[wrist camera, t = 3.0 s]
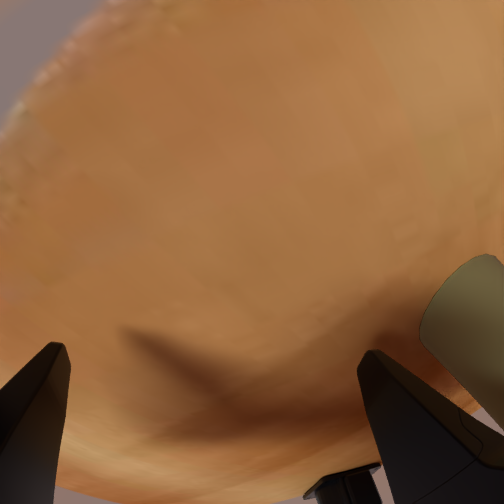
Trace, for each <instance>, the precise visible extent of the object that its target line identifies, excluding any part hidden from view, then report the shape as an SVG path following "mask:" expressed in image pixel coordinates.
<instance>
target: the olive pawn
mask: <svg viewBox="0 0 504 504" xmlns="http://www.w3.org/2000/svg"><path fill="white" fill-rule="evenodd" d="M420 341H421V342H422V344H423V345H424V347H425V348H426V349H427V350H428V351H429V352H430V353H431V354H432V355H433V356H434V357H435V358H436V359H437V360H438V361H439V362H440V363H441V364H442V365H443V366H444V367H445V368H446V369H447V370H448V371H449V372H450V373H451V374H452V375H453V376H454V377H455V378H456V379H457V380H458V382H459V383H460V384H461V385H462V386H463V387H464V388H465V389H466V390H467V391H468V392H469V393H470V394H471V395H472V396H473V397H474V399H475V400H476V401H477V402H478V403H479V404H480V405H481V406H482V407H483V408H484V409H485V410H486V412H487V413H488V414H489V415H490V416H491V417H492V418H493V419H494V420H495V422H496V423H497V424H498V425H499V426H500V427H501V428H502V429H503V431H504V266H503V264H502V263H501V262H500V261H499V260H498V259H497V258H496V257H495V256H493V255H489V254H484V255H481V256H478V257H474V258H473V259H471V260H470V261H468V262H467V263H465V264H464V265H462V266H461V267H460V268H458V269H457V270H456V271H455V272H454V273H453V274H452V275H451V276H450V277H449V278H448V279H447V280H446V281H445V283H444V284H443V285H442V287H441V288H440V289H439V290H438V292H437V293H436V294H435V296H434V297H433V299H432V300H431V302H430V304H429V306H428V308H427V309H426V311H425V313H424V316H423V319H422V322H421V325H420Z"/></svg>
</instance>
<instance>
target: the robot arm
mask: <svg viewBox="0 0 504 504" xmlns="http://www.w3.org/2000/svg"><path fill="white" fill-rule="evenodd" d="M70 373H71V363H70V360H69V357H68V354H67V350H66V347H65V345H64V344H63V343H59V342H50V343H48V344H47V345H46V346H45V347H44V348H43V349H42V350H41V351H40V352H39V353H38V354H36V355H35V356H34V357H33V358H32V359H31V360H30V361H29V362H28V363H27V364H26V365H25V366H24V367H23V368H22V369H21V370H20V371H19V372H18V373H17V374H16V375H15V376H14V377H12V378H11V379H10V380H9V381H8V382H7V383H6V384H5V385H4V386H3V387H2V388H1V389H0V504H53V499H54V489H55V480H56V472H57V465H58V458H59V451H60V445H61V439H62V434H63V428H64V423H65V417H66V409H67V398H68V389H69V380H70ZM357 376H358V380H359V384H360V388H361V393H362V397H363V402H364V406H365V410H366V414H367V417H368V420H369V423H370V426H371V429H372V432H373V435H374V438H375V441H376V444H377V447H378V450H379V454H380V457H381V460H382V463H383V466H384V470H385V473H386V476H387V479H388V482H389V486H390V489H391V493H392V496H393V500H394V503H395V504H504V436H503V435H501V434H500V433H498V432H496V431H494V430H493V429H491V428H490V427H488V426H486V425H485V424H483V423H481V422H480V421H478V420H476V419H475V418H474V417H472V416H471V415H469V414H468V413H466V412H465V411H464V410H462V409H461V408H459V407H457V405H455V404H454V403H452V402H451V401H450V400H448V399H447V398H446V397H444V396H443V395H441V394H440V393H439V392H437V391H436V390H435V389H433V388H432V387H430V386H429V385H428V384H426V383H425V382H424V381H422V380H421V379H419V378H418V377H417V376H415V375H414V374H413V373H411V372H410V371H408V370H407V369H406V368H404V367H403V366H402V365H400V364H399V363H397V362H396V361H395V360H393V359H392V358H391V357H389V356H388V355H386V354H385V353H384V352H382V351H381V350H379V349H373V350H368V351H366V353H365V354H364V356H363V358H362V360H361V362H360V363H359V365H358V367H357ZM379 468H381V465H380V463H377V464H374V465H371V466H367V467H364V468H360V469H357V470H353V471H349V472H345V473H341V474H337V475H333V476H328V477H325V478H323V479H321V480H320V481H319V482H318V483H317V484H316V485H315V486H314V487H313V488H311V489H310V490H309V491H308V492H307V493H306V494H305V495H304V496H303V499H304V500H307V499H312V498H316V500H317V503H318V504H382V499H381V497H380V494H379V492H378V489H377V487H376V485H375V482H374V480H373V478H372V474H373V473H375V472H376V471H377V470H378V469H379Z"/></svg>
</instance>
